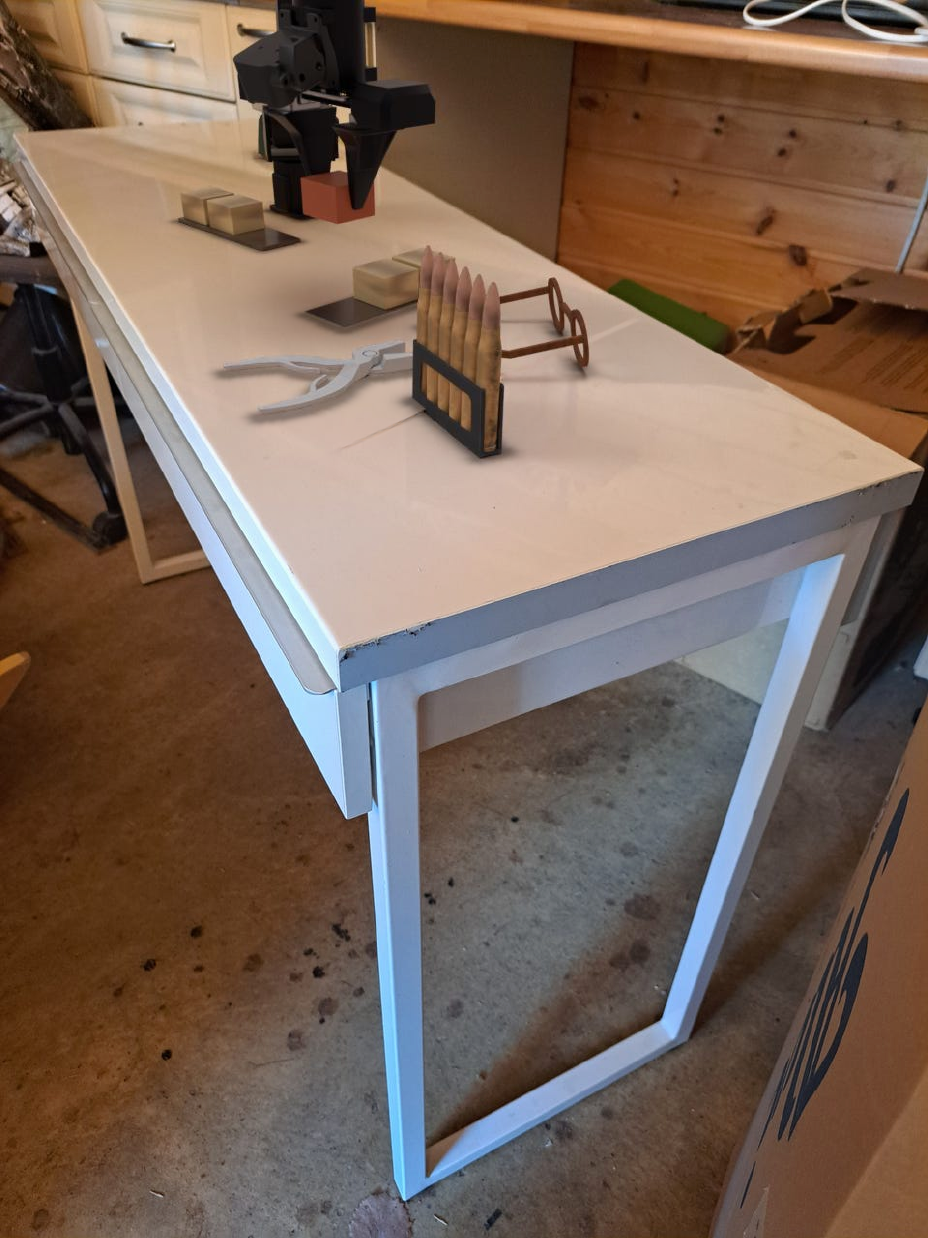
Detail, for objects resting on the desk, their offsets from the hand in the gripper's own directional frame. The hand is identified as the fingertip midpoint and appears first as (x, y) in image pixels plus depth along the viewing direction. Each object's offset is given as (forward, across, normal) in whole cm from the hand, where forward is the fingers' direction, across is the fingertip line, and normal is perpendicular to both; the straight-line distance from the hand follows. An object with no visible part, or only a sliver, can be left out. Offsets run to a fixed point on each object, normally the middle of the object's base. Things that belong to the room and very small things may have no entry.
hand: (338, 203), depth 78 cm
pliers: (+10, +11, -11) cm, 18 cm away
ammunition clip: (+10, +24, -10) cm, 28 cm away
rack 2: (+10, +1, +5) cm, 11 cm away
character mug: (+10, -58, +40) cm, 71 cm away
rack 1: (+10, -29, +10) cm, 33 cm away
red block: (+1, 0, 0) cm, 1 cm away
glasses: (+10, +17, +4) cm, 20 cm away
